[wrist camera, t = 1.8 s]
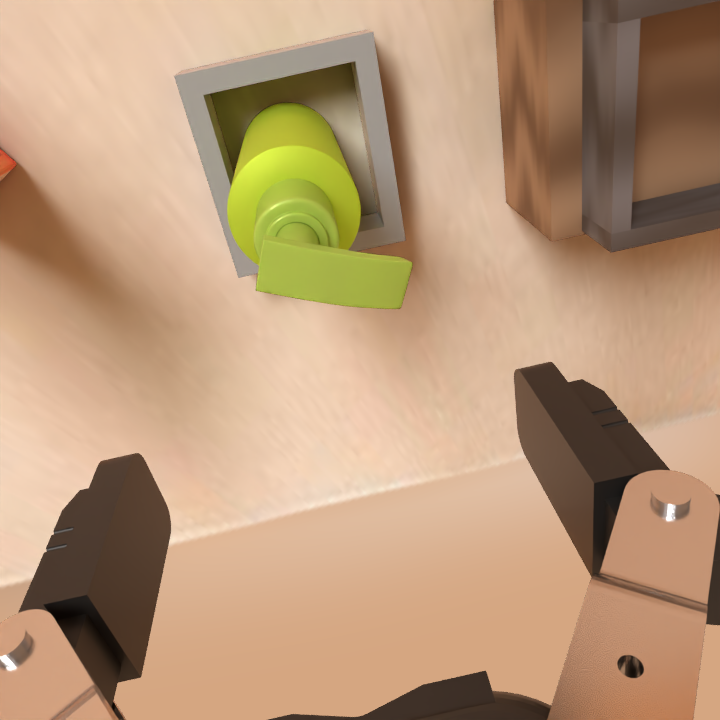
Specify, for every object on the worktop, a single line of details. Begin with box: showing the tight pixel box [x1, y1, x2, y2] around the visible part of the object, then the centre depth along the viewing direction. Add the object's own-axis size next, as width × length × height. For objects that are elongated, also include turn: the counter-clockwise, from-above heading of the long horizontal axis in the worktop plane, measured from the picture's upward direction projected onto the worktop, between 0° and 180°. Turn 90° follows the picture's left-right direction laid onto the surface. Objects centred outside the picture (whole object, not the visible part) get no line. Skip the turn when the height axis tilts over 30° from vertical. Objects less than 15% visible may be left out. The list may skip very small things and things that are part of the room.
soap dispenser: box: [227, 103, 413, 309], centre depth 29 cm, size 6×7×20 cm
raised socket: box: [494, 0, 720, 252], centre depth 33 cm, size 12×14×12 cm
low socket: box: [174, 30, 406, 278], centre depth 37 cm, size 12×11×3 cm
